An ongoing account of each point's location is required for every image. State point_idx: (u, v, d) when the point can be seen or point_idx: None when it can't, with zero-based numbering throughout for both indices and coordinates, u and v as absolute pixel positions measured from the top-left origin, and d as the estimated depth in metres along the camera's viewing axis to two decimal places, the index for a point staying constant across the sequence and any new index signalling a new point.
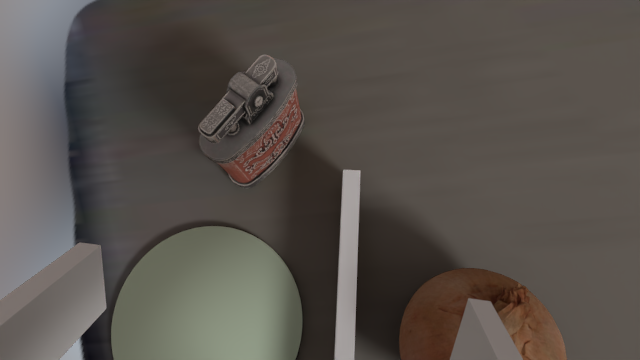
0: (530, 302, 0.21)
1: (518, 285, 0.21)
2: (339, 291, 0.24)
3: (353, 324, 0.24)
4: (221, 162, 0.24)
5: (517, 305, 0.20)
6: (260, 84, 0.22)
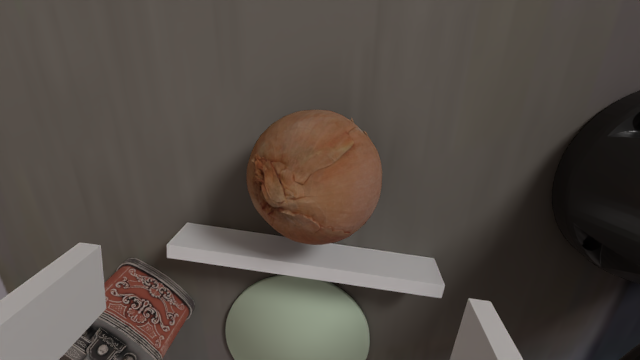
0: (267, 152, 0.23)
1: (253, 161, 0.24)
2: (267, 271, 0.30)
3: (292, 264, 0.29)
4: None
5: (264, 180, 0.23)
6: (86, 353, 0.27)
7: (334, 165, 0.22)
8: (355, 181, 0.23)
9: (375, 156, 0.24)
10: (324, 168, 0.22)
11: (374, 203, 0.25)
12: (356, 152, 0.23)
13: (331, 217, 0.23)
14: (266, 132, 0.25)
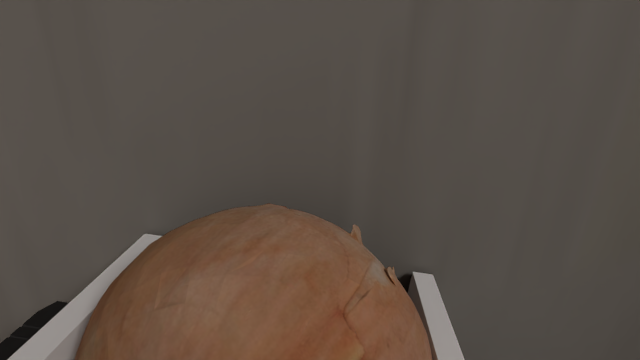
0: None
1: None
2: None
3: None
4: None
5: None
6: None
7: None
8: None
9: None
10: None
11: None
12: None
13: None
14: (115, 286, 0.09)
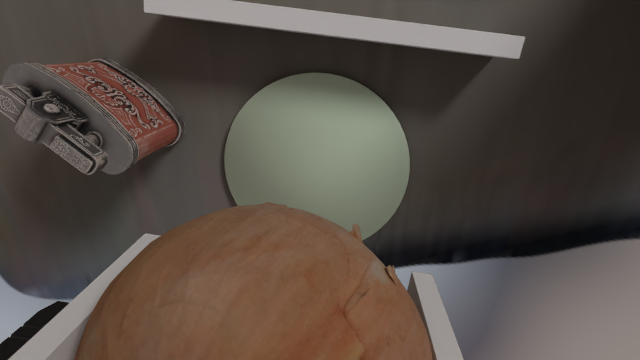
0: None
1: None
2: (281, 27, 0.22)
3: (316, 13, 0.22)
4: (136, 151, 0.22)
5: None
6: (26, 104, 0.19)
7: None
8: None
9: (423, 359, 0.08)
10: None
11: None
12: None
13: None
14: (115, 285, 0.09)
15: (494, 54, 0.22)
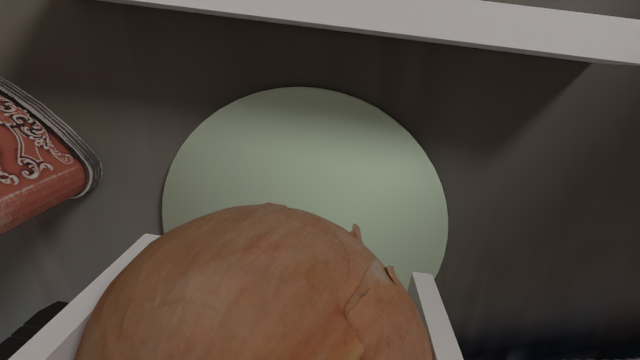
0: None
1: None
2: (229, 8, 0.12)
3: None
4: None
5: None
6: None
7: None
8: None
9: (423, 359, 0.08)
10: None
11: None
12: None
13: None
14: (115, 285, 0.09)
15: (626, 59, 0.12)
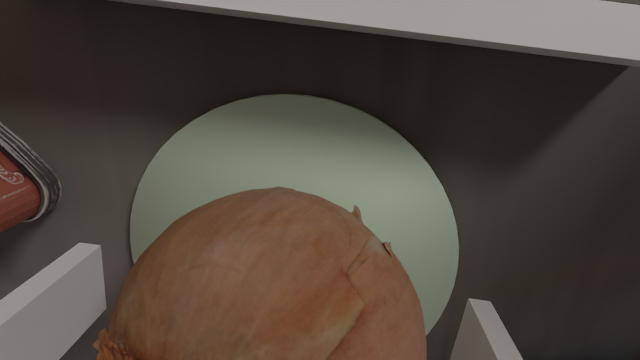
0: (134, 327, 0.09)
1: (97, 347, 0.09)
2: None
3: None
4: None
5: None
6: None
7: None
8: None
9: (415, 319, 0.10)
10: None
11: None
12: (370, 332, 0.08)
13: None
14: (147, 255, 0.10)
15: None
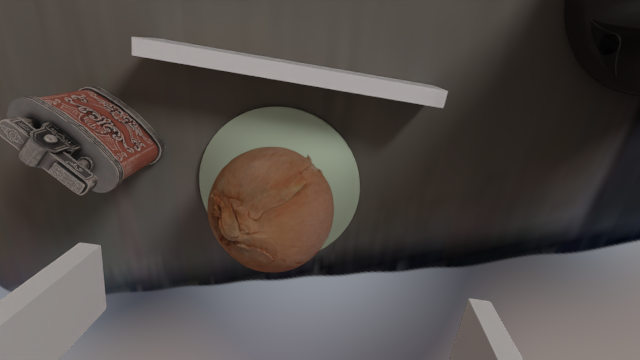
0: (226, 189, 0.25)
1: (212, 196, 0.25)
2: (248, 73, 0.26)
3: (278, 63, 0.26)
4: (121, 173, 0.26)
5: (221, 215, 0.25)
6: (29, 136, 0.22)
7: (286, 204, 0.24)
8: (305, 218, 0.25)
9: (326, 193, 0.27)
10: (276, 207, 0.24)
11: (324, 236, 0.27)
12: (308, 191, 0.25)
13: (282, 251, 0.25)
14: (226, 168, 0.27)
15: (423, 103, 0.26)
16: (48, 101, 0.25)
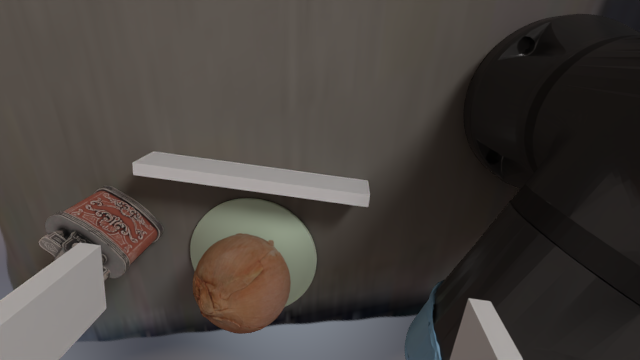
0: (204, 275, 0.34)
1: (194, 280, 0.34)
2: (219, 185, 0.35)
3: (240, 178, 0.34)
4: (128, 263, 0.35)
5: (200, 296, 0.33)
6: (61, 247, 0.32)
7: (247, 287, 0.33)
8: (262, 297, 0.33)
9: (281, 274, 0.35)
10: (240, 290, 0.33)
11: (281, 306, 0.35)
12: (264, 275, 0.34)
13: (246, 321, 0.33)
14: (205, 256, 0.35)
15: (352, 204, 0.34)
16: (74, 213, 0.34)
